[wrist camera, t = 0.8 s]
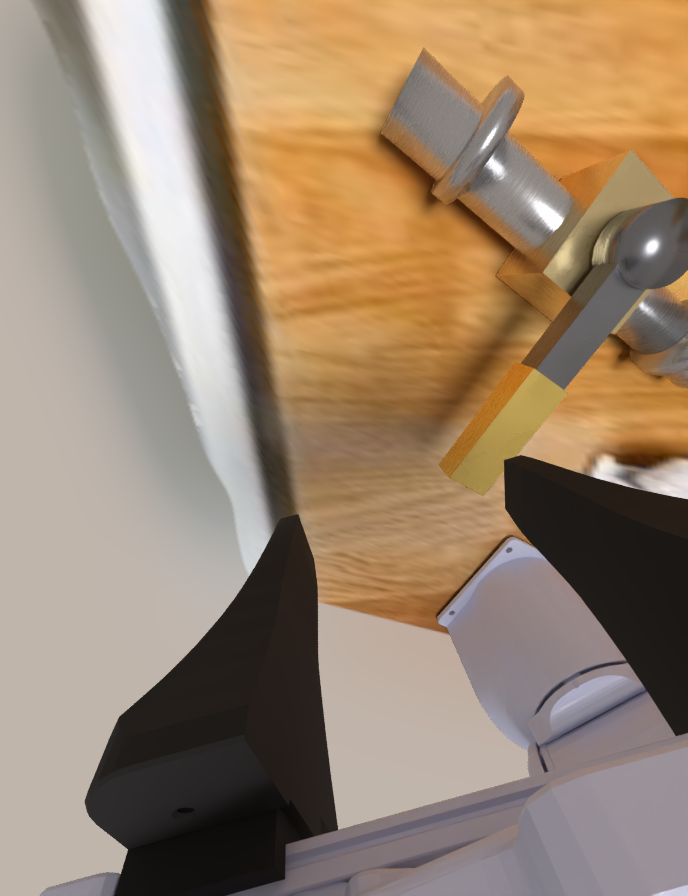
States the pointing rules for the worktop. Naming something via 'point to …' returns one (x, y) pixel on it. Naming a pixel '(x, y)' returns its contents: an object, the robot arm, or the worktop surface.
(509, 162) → the valve body
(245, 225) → the worktop surface
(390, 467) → the worktop surface
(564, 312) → the lever
